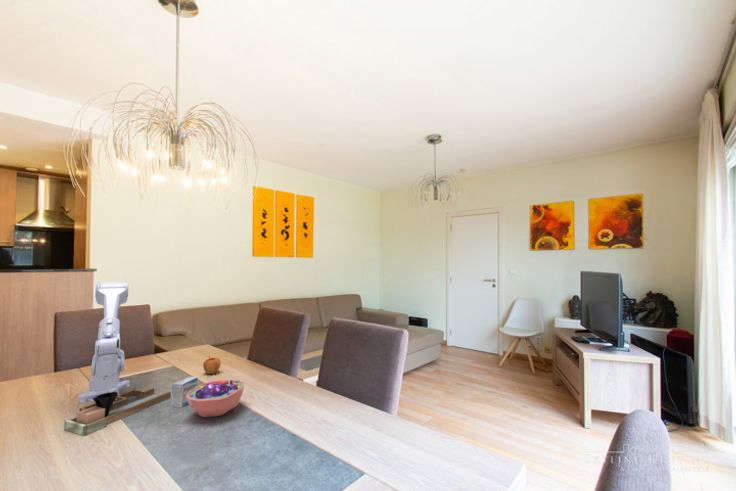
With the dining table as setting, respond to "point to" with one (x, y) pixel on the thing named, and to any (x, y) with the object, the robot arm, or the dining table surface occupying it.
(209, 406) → the cell model
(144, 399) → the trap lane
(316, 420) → the dining table surface
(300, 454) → the dining table surface
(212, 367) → the apple
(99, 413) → the block
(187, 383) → the medicine box
